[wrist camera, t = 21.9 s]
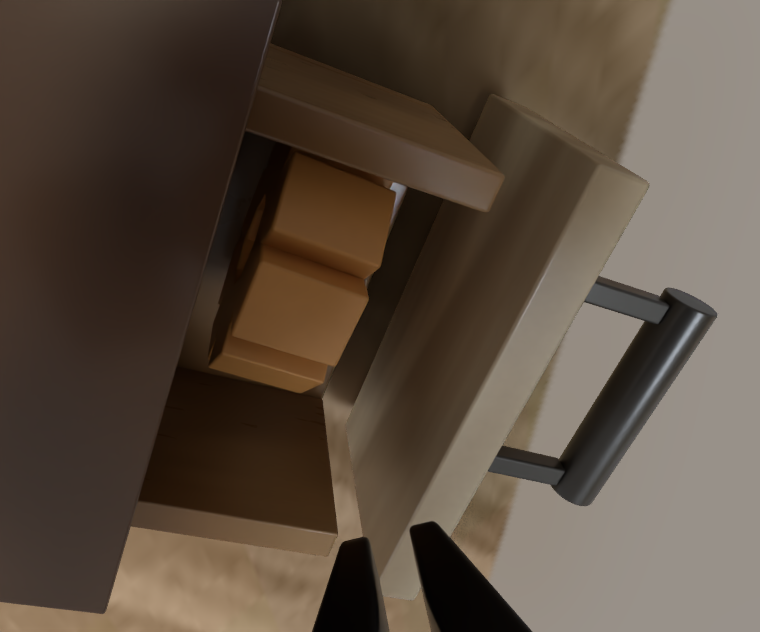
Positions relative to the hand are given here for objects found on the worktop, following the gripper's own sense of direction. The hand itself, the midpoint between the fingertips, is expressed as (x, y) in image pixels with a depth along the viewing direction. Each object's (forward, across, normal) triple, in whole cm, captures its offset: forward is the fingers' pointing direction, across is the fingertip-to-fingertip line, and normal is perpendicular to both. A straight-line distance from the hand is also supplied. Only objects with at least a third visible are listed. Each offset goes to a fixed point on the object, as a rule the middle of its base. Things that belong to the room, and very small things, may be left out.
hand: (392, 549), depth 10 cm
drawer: (+11, 0, 0) cm, 11 cm away
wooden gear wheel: (+7, 0, -1) cm, 7 cm away
